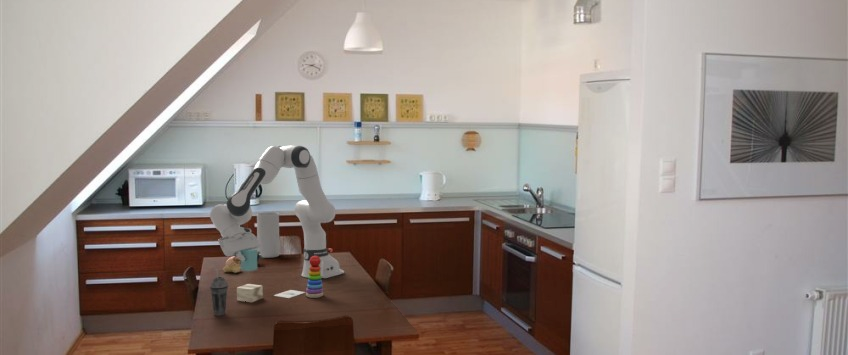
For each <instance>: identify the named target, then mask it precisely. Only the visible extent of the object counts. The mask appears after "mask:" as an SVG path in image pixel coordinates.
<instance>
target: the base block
mask: <svg viewBox="0 0 848 355" xmlns="http://www.w3.org/2000/svg"><path fill="white" fill-rule="evenodd" d="M263 289H264V288H263V285H262V284H253V283H246V284H244V285H241V286H237V287H236V300H237V301H239V302H245V301H246V302H247V303H254V302H257V301H259V300H262V299H264V298H263V296H264V294H263Z"/></svg>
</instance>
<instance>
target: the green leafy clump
mask: <svg viewBox="0 0 848 355" xmlns="http://www.w3.org/2000/svg"><path fill="white" fill-rule="evenodd" d="M259 252H260V251H258V250H257V263H259V262H260V260H259V259H262V260H264V259H265V258H264V257H262V256H261V254H260V253H259ZM238 265H239V266H240V265H241V262H239V263H238Z"/></svg>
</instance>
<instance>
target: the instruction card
mask: <svg viewBox="0 0 848 355" xmlns="http://www.w3.org/2000/svg"><path fill="white" fill-rule="evenodd" d="M306 292H307V291H306ZM306 292H305V291H299V290H294V289H289V290H286V291H283V292H280V293H276V294H274V295H273V297H279V298H285V299H290V298H294V297H297V296H299V295H302V294H306Z"/></svg>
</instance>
